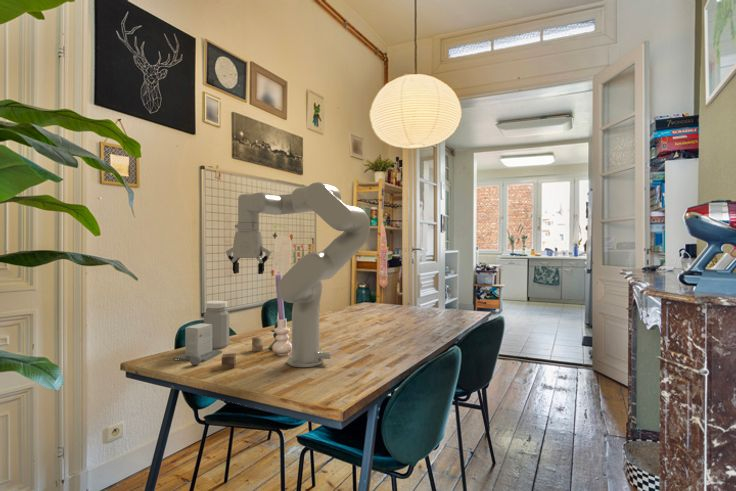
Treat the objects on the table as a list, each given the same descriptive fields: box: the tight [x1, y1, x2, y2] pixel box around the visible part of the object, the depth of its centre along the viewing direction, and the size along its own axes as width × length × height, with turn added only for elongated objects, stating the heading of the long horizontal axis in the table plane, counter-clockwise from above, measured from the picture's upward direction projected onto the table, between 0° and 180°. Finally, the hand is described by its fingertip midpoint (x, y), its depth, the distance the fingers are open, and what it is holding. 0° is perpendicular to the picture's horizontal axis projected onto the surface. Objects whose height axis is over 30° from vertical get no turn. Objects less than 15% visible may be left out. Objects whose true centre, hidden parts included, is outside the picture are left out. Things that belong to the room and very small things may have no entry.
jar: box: [203, 299, 230, 350], centre depth 164 cm, size 10×10×18 cm
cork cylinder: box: [251, 336, 264, 353], centre depth 158 cm, size 4×4×5 cm
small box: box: [184, 322, 213, 357], centre depth 150 cm, size 8×6×10 cm
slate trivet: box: [172, 349, 223, 362], centre depth 150 cm, size 12×12×1 cm
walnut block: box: [221, 353, 237, 370], centre depth 138 cm, size 4×4×4 cm
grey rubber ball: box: [189, 354, 201, 366], centre depth 139 cm, size 4×4×4 cm
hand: (248, 273), depth 152 cm, fingers open, 9 cm apart
